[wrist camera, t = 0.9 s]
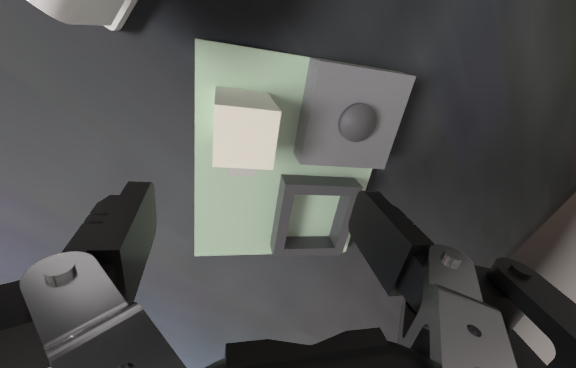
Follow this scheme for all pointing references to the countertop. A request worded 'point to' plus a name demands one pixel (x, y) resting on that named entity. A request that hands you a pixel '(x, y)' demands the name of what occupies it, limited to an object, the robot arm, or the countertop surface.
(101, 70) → the countertop surface
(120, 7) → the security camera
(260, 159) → the plug
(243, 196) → the circuit board
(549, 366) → the robot arm
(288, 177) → the header socket
